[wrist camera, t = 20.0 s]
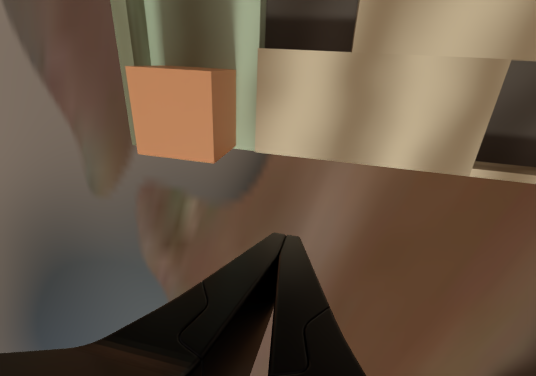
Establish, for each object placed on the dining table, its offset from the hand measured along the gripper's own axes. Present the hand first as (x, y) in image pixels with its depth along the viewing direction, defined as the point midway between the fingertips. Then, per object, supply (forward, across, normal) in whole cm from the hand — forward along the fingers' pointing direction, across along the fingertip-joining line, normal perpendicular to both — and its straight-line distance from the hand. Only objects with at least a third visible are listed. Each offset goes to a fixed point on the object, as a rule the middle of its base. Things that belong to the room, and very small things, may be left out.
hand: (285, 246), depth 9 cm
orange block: (+11, +8, -2) cm, 14 cm away
